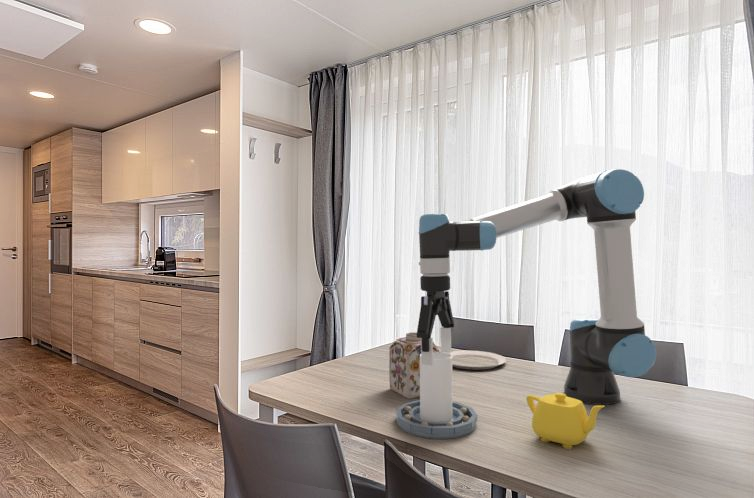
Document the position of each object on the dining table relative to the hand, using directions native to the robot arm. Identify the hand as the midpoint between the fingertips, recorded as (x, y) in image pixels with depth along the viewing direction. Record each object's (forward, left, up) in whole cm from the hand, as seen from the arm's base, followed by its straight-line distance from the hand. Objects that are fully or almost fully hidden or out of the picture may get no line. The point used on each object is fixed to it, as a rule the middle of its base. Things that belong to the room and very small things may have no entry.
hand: (437, 358), depth 118 cm
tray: (0, 0, -16) cm, 16 cm away
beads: (0, 0, -15) cm, 15 cm away
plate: (+9, -63, -17) cm, 66 cm away
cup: (0, 0, -15) cm, 15 cm away
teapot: (-30, -3, -17) cm, 34 cm away
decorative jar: (+15, -21, -17) cm, 31 cm away
